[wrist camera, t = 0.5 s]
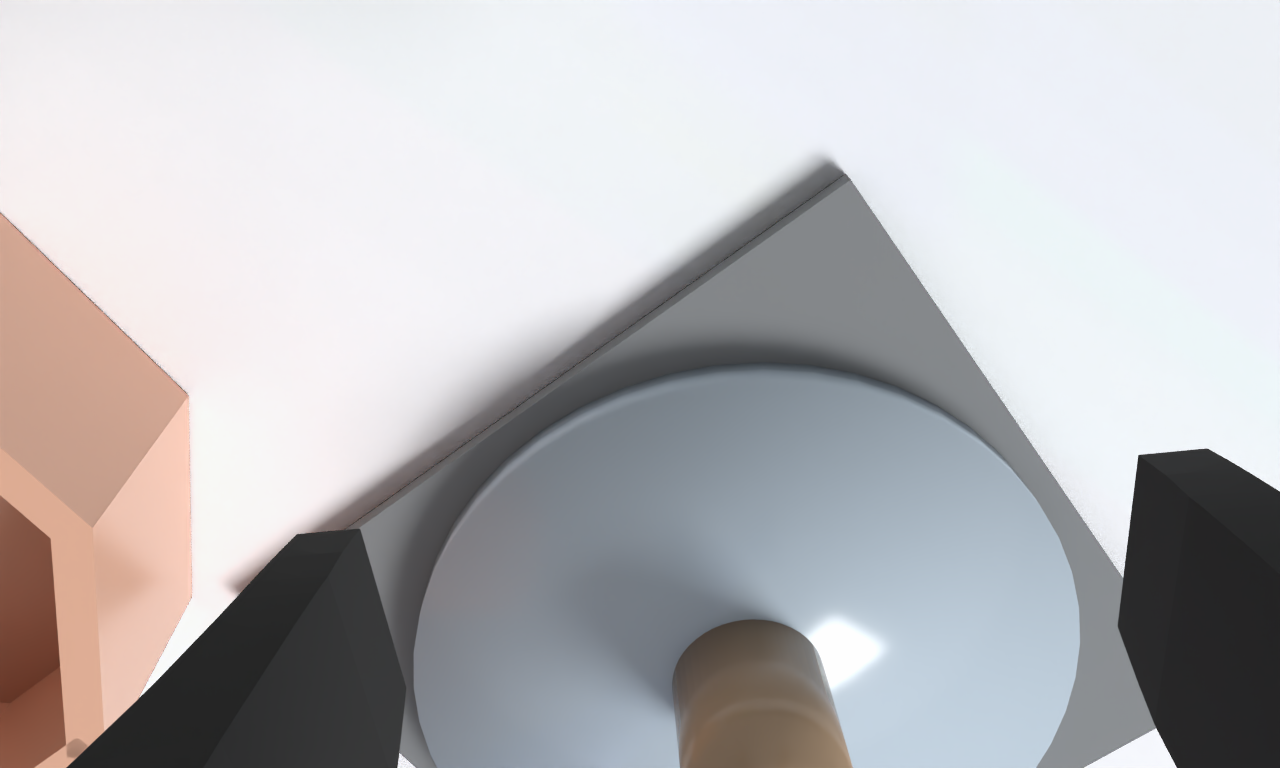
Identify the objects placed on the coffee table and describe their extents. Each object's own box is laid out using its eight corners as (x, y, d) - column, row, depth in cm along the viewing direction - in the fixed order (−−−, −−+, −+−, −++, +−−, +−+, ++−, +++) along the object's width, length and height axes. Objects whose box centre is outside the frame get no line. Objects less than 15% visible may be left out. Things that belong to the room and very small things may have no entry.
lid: (672, 973, 27) (687, 1166, 23) (279, 613, 23) (213, 777, 19) (1174, 696, 24) (1288, 864, 20) (841, 220, 20) (905, 314, 16)
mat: (667, 979, 28) (668, 994, 28) (247, 598, 23) (241, 611, 23) (1197, 687, 25) (1206, 700, 24) (845, 173, 20) (850, 180, 19)
